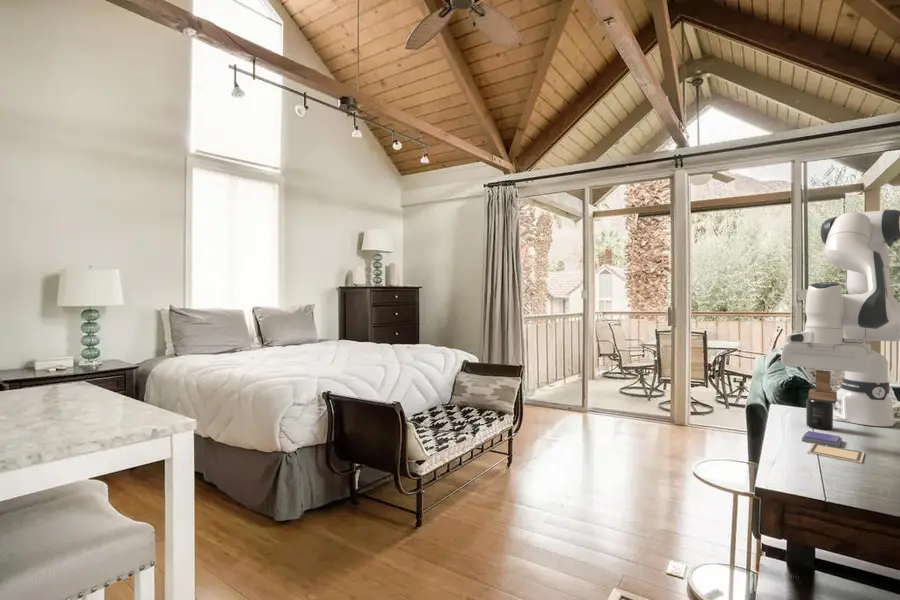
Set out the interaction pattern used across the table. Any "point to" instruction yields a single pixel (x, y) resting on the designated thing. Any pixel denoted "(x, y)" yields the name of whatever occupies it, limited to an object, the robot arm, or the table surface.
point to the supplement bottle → (819, 415)
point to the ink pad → (822, 439)
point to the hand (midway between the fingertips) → (822, 384)
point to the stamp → (822, 388)
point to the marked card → (837, 453)
